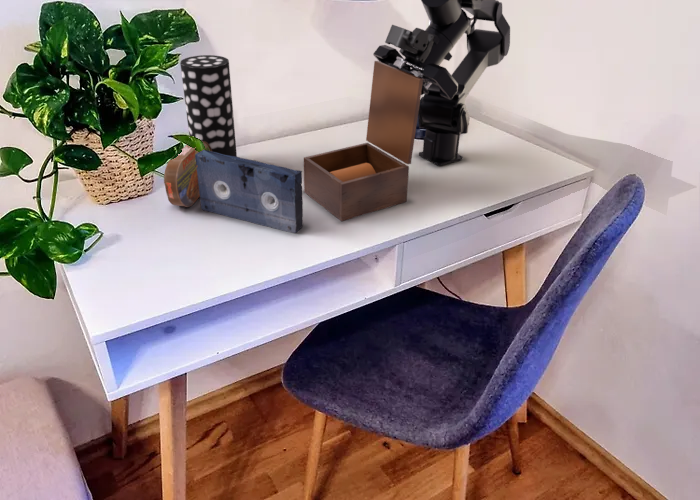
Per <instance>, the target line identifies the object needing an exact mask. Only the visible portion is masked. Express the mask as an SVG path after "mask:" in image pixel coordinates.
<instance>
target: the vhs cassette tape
mask: <svg viewBox="0 0 700 500" xmlns="http://www.w3.org/2000/svg"><path fill="white" fill-rule="evenodd" d="M195 160H196V165H197V166H198V167H197V176H198V186H199V194H200V197H199V199H200V200H199V202H200V208H201V210H202V211H205V212H208V213H209V212H210V213H214V214H217V215H220V216H224V217H229V218H233V219H237V220H240V221H245V222H249V223H252V224H256V225H260V226H265V227H269V228H272V229H276V230H280V231H284V232H288V233H292V234H294V233H295V234H296V233H297V232H298V231H299V230H301V229H302V227H303V226H304V223H303V222H304V209H303V208H304V206H303V204H304V201H303V185H302V184H303V171H302V170H297V169H293V168H289V167H285V166H279V165H276V164H271V163H265V162H261V161H258V160H255V159H254V160H253V159H249V158H243V157H240V156H237V157H235V156H229V155H223V154H220V153H217V152H212V151H208V150H204V149H203V150H202V151H200V152H198V153H197V154H195Z"/></svg>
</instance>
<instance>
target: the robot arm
mask: <svg viewBox="0 0 700 500" xmlns="http://www.w3.org/2000/svg"><path fill="white" fill-rule="evenodd" d="M420 1H421V3H422V6H423V8H424V11H425V12H426V16H427V18H428V20H429V21H430V23H429V25H428V26H427V27H426V29H423V28H419V27H415V28H414V29H413V30H409V29H406V28H404V27H401V26H397V25H395V24H391V26H390V29H389V31H388V34H387V36H386V38H385V41H384V43H385V44H381V45H379V46H378V47H377V48H376V49H375V51H374V52H373V56H374V58H375V59H376V61H379V62H382V63H384V64H387V65H389V66H392V67H394V68H397V69H399V70H401V71H404V72H406V73H409V74H411V75H414V76H416V77H419V78H421V79H423V84H422V91H421V97H420V104H419V111H418V118H417V119H418V128H419V129H425V136H423V143H422V144H423V146H422V151H419V152H418V156H419V157H422V158H423V159H425V160H427V161H428V162H430V163H432V164H434V165H435V166H438V167H440V166H444V165H448V164H452V163H455V162H459V161H462V160H463V159H464V157H463V155H461V154H459V145H460V137H461V135H464V134H468V132H469V126H470V119H471V117H470V114H469V112H468V109H467V105H466V98H467V96H468V95H469V94H470V92H471V91H472V89H474V86H475V85H476V84H477V82H478V81H479V79H481V77H482V75H483V73H484V72H485V71H486V69H487V68H490V67H493V66H497V65H499V64H500V63H501V62H502V61H503V60H504V59H505V57H507V55H508V53H509V51H510V47H511V46H510V45H511V26H510V24H509V22H508V21H507V19H506V17H505V16H504V14H503V3H502V2H501V1H499V0H420ZM467 13H469V14H470V15H472V17H473V20H472V18H471V17H470V16H468V14H467ZM477 21H487V22H493V24H494V27H495V28H496V31H495V30H489V29H488V30H487V29H480V28H476V27H475V25H476V23H477ZM464 34H465V35H466V49H467V53H466V55H465V56H464V58H463V59H462V60H461V61H460V63H459V64H458V66H457V67H456V68H455V70H454V71H453V72H452V74H451V73H450V71H449V70H448V69H447V67H444V66H441V64H442V62H443V61H444V60H445V61H448V62H449V61H450V60H451V59H452V58H453V55H452V54H451V51H452V50H453V48H454V47H455V46H456V44H457V43H458V42H459V40H460V39H461V38H462V37H463V35H464ZM390 45H392V46H390ZM393 46H394V47H393ZM395 47H396V48H398V49H400V50H399V51H398V49H396V48H395ZM422 95H423V96H422Z"/></svg>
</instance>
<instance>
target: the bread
mask: <svg viewBox="0 0 700 500" xmlns="http://www.w3.org/2000/svg"><path fill="white" fill-rule="evenodd" d="M329 173H331V174H332V175H334V176H335V177H337V178H338V179H339V180H341V181H342V182H345V181H349V180H353V179H356V178H360V177H364V176H368V175H371V174H375V173H376V172H375V170H374V168H373V167H372V166H371V165H370V164H369V163H363V164H359V165H355V166H351V167H348V168H344V169H340V170H336V171H332V172H329Z"/></svg>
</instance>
